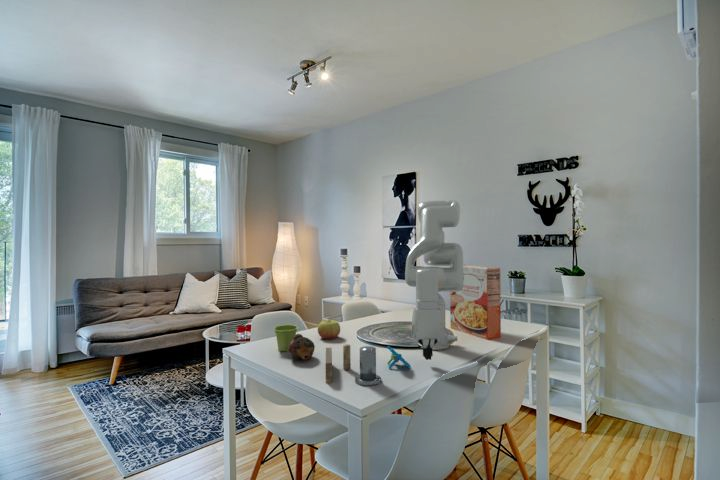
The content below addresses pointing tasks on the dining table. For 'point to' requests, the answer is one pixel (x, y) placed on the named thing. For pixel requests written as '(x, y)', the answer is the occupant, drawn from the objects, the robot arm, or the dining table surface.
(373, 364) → the post
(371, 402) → the dining table surface
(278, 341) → the plant pot
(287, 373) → the dining table surface
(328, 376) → the brown wooden plank
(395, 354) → the gear
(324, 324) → the apple
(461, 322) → the pasta box
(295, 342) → the decorative turtle
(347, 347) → the dowel pin
